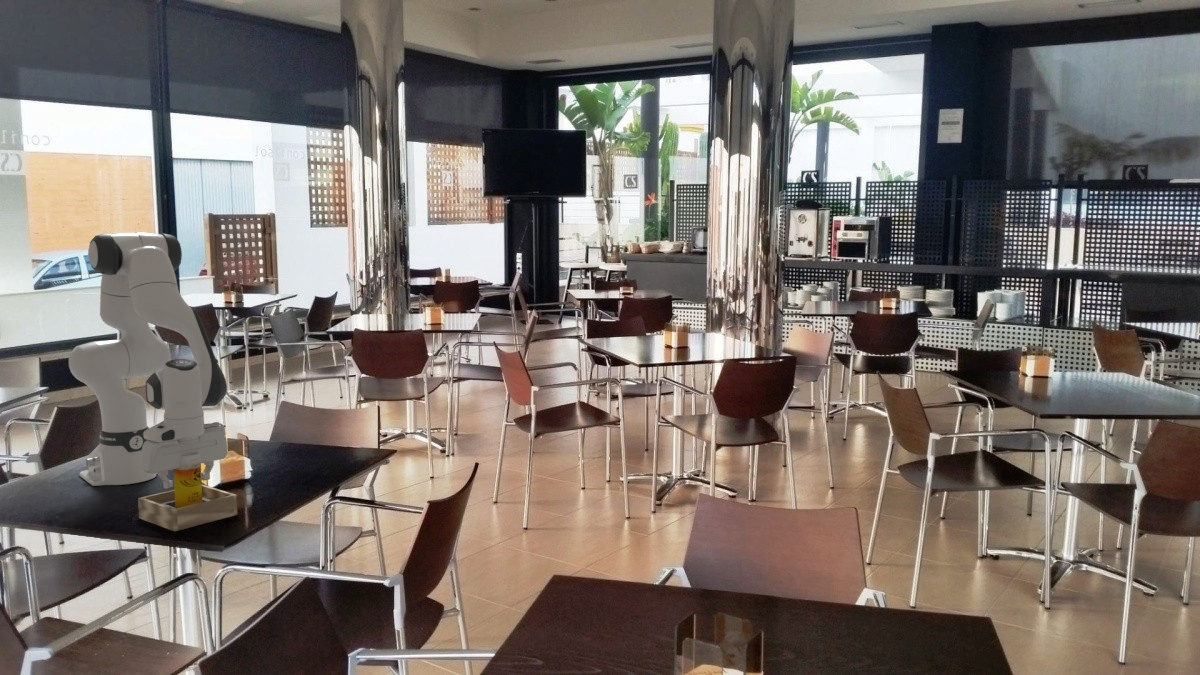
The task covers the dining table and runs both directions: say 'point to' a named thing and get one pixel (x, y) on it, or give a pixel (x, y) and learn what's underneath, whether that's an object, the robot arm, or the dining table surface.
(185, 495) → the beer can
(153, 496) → the crate
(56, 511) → the dining table surface
